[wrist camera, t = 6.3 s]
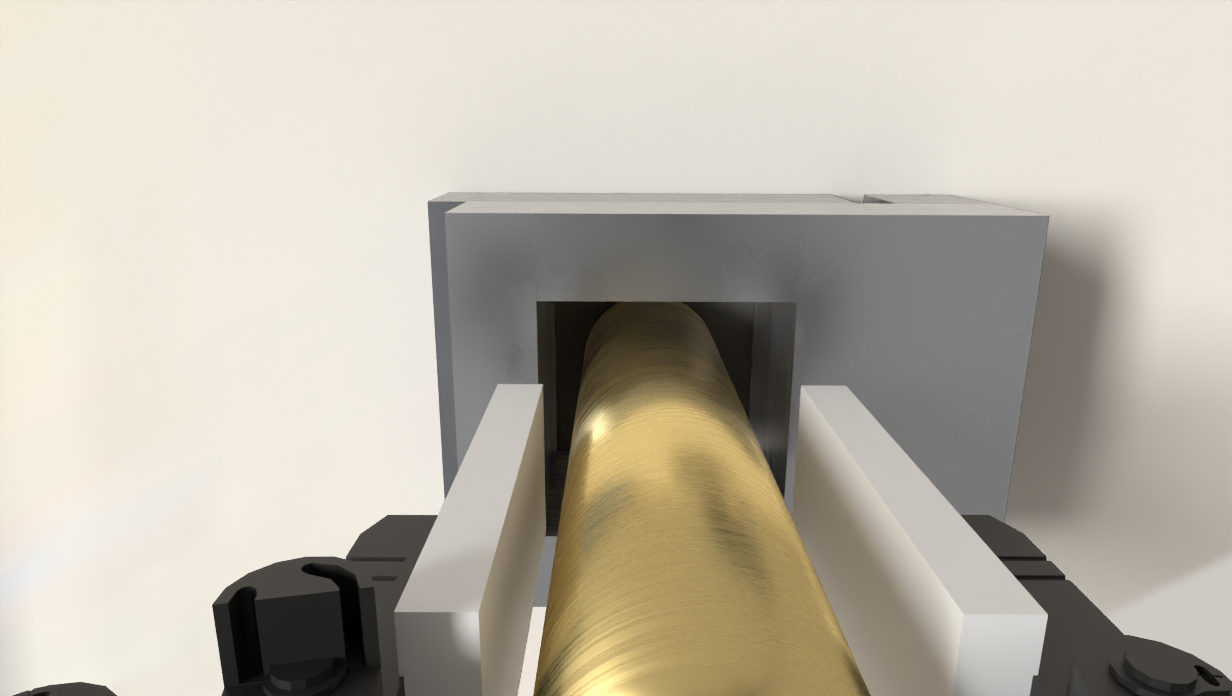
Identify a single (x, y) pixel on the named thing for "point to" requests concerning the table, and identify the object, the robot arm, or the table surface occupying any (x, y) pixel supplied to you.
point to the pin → (678, 534)
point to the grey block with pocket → (758, 313)
